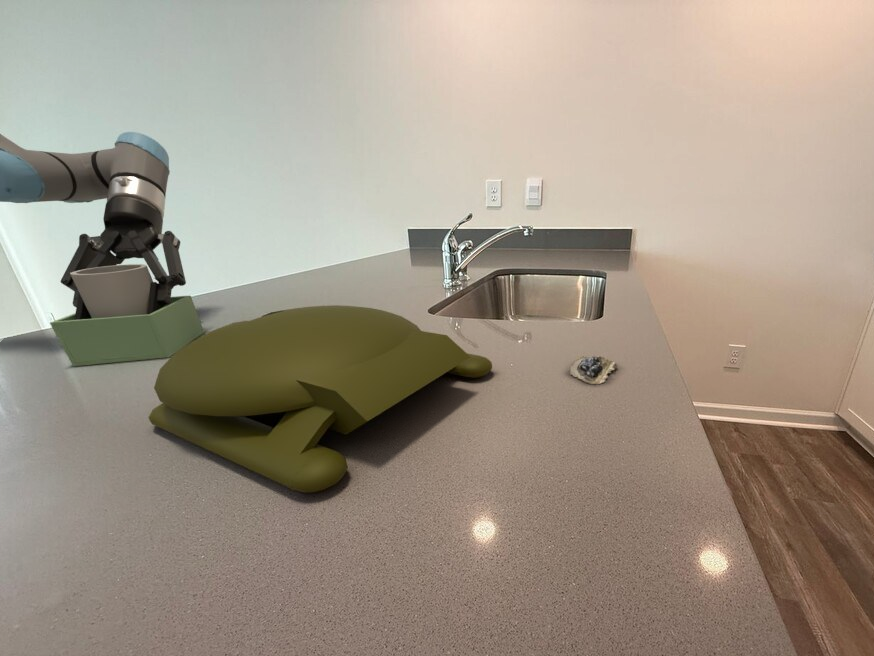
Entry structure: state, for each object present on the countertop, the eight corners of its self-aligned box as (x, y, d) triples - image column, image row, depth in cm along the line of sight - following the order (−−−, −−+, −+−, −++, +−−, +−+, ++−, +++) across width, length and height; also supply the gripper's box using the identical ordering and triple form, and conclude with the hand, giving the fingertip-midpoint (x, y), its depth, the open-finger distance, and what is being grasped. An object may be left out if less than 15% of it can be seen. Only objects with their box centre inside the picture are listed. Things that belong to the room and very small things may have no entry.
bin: (72, 366, 63) (49, 322, 60) (124, 339, 75) (106, 301, 72) (169, 357, 66) (151, 315, 63) (204, 332, 78) (190, 295, 74)
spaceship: (499, 371, 58) (496, 303, 54) (315, 508, 34) (283, 405, 29) (331, 337, 73) (318, 282, 69) (120, 415, 49) (80, 338, 45)
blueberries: (616, 362, 60) (617, 350, 59) (621, 385, 53) (622, 372, 52) (570, 360, 61) (570, 348, 60) (569, 383, 54) (569, 370, 53)
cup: (174, 341, 69) (145, 269, 64) (103, 354, 64) (64, 277, 59) (174, 328, 76) (147, 262, 70) (109, 339, 71) (75, 268, 66)
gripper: (42, 196, 67) (14, 317, 60) (192, 193, 71) (182, 306, 64) (80, 228, 74) (59, 340, 67) (215, 223, 78) (208, 328, 71)
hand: (119, 323), depth 65 cm, fingers closed on cup, 9 cm apart
